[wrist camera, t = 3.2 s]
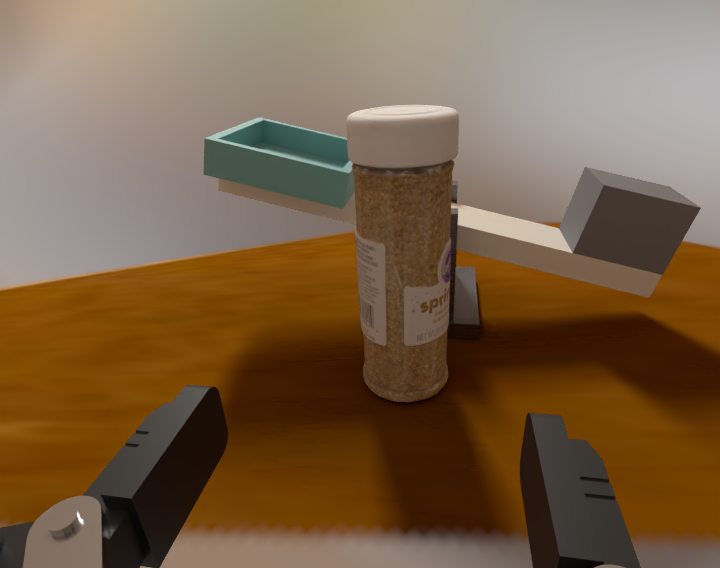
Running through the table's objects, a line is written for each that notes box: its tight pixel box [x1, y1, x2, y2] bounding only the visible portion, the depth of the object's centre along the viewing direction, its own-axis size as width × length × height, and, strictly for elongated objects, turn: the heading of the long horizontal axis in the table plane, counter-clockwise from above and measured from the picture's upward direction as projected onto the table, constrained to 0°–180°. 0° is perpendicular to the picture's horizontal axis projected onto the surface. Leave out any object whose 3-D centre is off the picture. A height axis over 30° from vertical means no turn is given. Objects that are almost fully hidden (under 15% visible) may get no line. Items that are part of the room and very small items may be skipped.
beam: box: [204, 117, 701, 298], centre depth 28 cm, size 26×8×6 cm, turn 80°
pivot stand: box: [447, 181, 480, 339], centre depth 30 cm, size 6×8×8 cm
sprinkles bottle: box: [347, 105, 459, 402], centre depth 22 cm, size 5×5×13 cm
